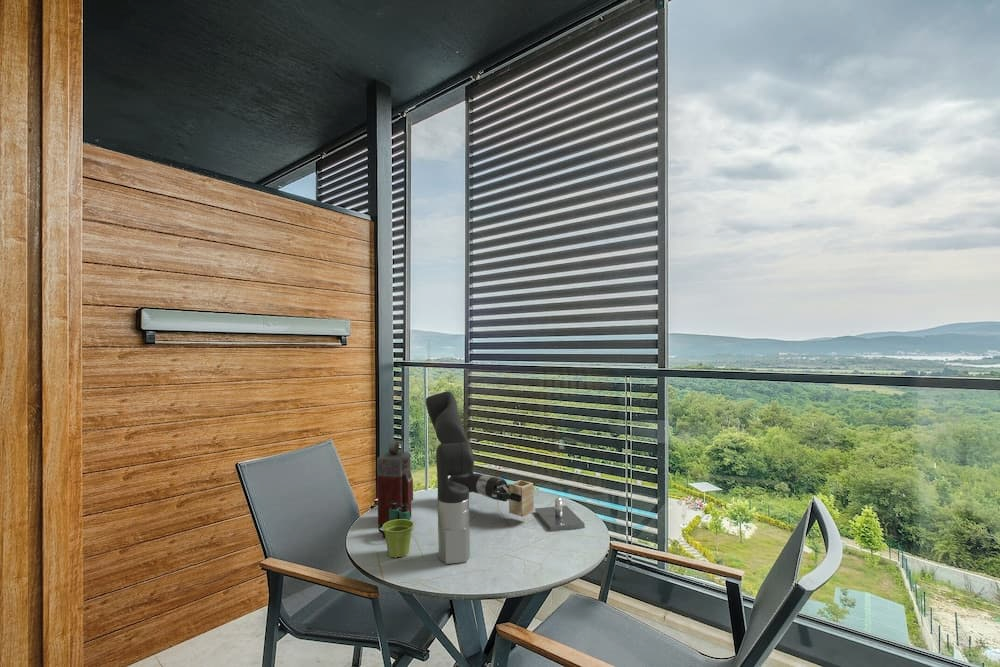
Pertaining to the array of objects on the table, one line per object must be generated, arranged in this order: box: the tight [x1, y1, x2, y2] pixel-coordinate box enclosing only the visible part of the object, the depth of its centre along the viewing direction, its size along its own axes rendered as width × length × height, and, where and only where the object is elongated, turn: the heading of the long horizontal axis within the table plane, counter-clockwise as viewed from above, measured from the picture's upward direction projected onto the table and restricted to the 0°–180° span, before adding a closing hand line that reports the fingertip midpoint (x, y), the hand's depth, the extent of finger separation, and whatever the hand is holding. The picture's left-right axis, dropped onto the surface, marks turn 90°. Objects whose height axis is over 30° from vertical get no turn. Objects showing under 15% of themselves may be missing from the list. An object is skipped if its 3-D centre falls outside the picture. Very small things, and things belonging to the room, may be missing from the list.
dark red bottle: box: [376, 440, 414, 526], centre depth 176 cm, size 9×11×28 cm
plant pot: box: [381, 519, 415, 559], centre depth 149 cm, size 9×9×9 cm
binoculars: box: [377, 501, 411, 539], centre depth 162 cm, size 9×11×10 cm
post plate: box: [534, 496, 586, 532], centre depth 174 cm, size 18×12×8 cm, turn 12°
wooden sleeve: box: [508, 479, 535, 518], centre depth 173 cm, size 6×6×10 cm
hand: (526, 496), depth 172 cm, fingers closed on wooden sleeve, 6 cm apart
